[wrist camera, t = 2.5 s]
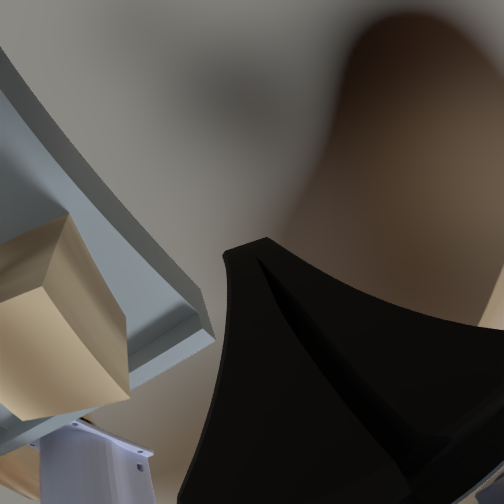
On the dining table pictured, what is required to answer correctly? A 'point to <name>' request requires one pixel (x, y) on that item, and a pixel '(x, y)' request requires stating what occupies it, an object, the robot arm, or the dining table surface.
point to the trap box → (91, 246)
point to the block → (58, 326)
